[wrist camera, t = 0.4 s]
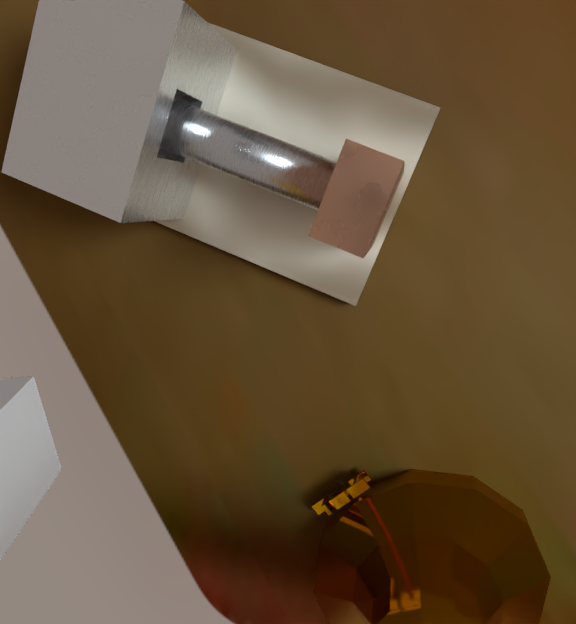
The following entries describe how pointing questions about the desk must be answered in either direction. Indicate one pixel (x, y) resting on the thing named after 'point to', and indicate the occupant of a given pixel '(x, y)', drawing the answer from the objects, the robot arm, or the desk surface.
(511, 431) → the desk surface
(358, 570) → the trophy cup
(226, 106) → the base board
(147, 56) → the bearing block
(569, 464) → the desk surface
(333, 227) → the shaft
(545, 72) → the desk surface
